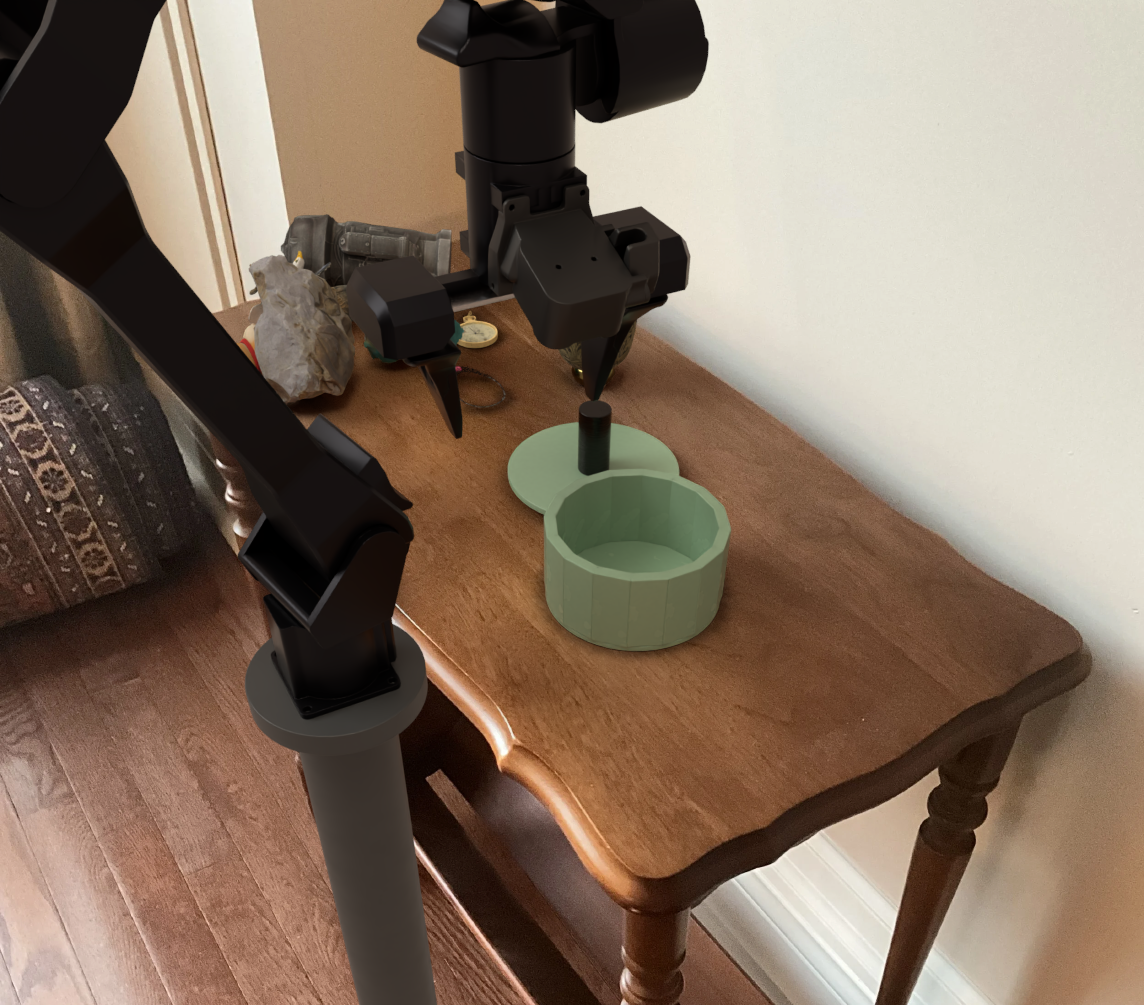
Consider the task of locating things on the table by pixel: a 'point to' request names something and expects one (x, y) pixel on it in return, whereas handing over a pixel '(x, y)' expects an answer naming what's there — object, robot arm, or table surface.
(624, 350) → the cup
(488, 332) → the pocket watch
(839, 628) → the table surface
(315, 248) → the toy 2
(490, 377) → the necklace
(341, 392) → the stone
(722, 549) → the pot
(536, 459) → the lid
